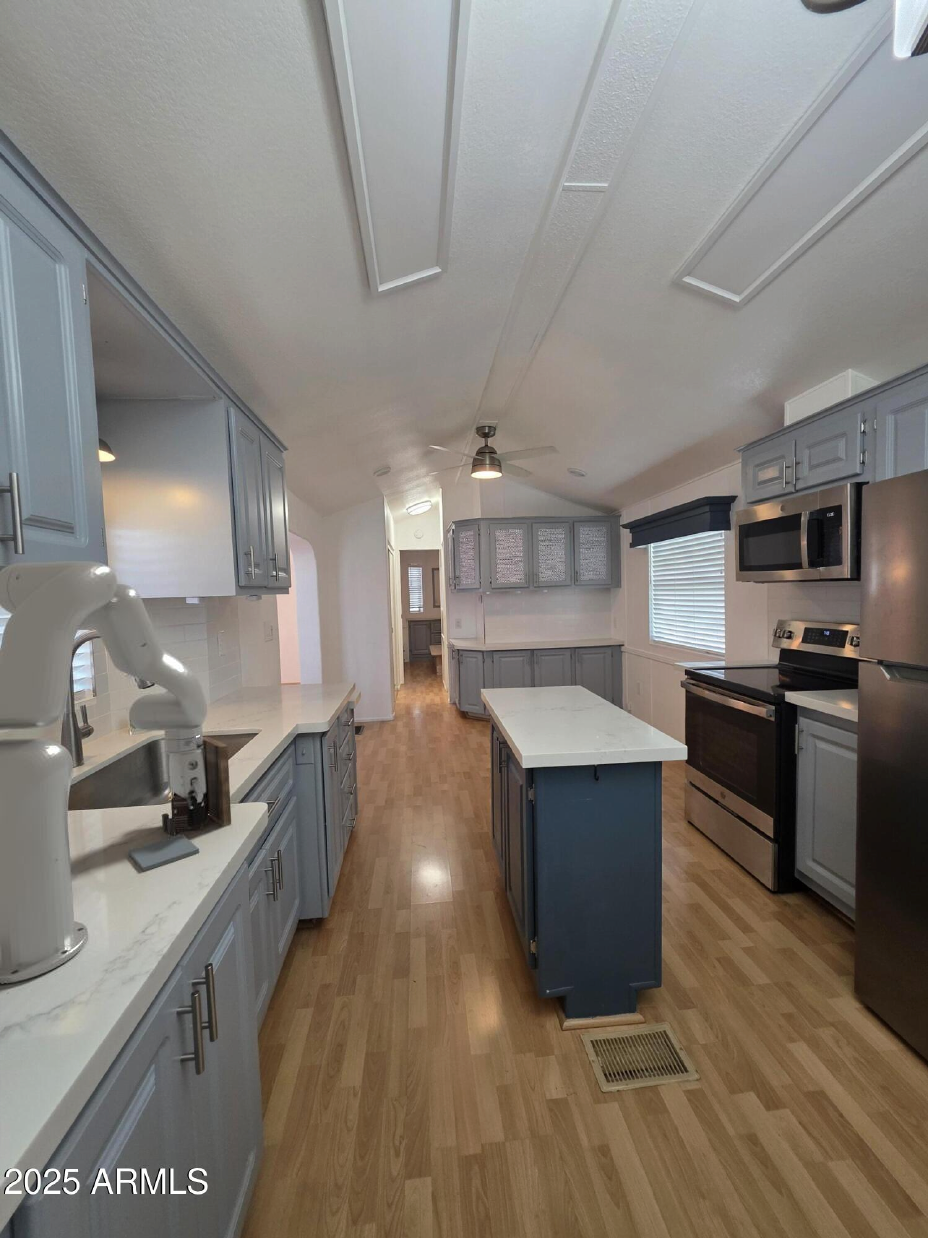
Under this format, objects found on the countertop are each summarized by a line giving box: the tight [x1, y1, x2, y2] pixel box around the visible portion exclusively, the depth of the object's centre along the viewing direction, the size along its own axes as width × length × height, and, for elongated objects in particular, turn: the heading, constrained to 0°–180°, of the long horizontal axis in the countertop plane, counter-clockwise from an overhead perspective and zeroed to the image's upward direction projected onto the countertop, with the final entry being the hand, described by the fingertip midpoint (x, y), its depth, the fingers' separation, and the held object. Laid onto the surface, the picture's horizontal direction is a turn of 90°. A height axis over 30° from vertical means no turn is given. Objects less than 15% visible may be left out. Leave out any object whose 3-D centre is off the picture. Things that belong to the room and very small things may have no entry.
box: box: [170, 791, 209, 833], centre depth 123 cm, size 6×6×7 cm
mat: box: [128, 833, 200, 872], centre depth 110 cm, size 10×10×1 cm
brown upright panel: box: [161, 736, 232, 838], centre depth 123 cm, size 12×12×18 cm
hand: (188, 818), depth 122 cm, fingers open, 9 cm apart
